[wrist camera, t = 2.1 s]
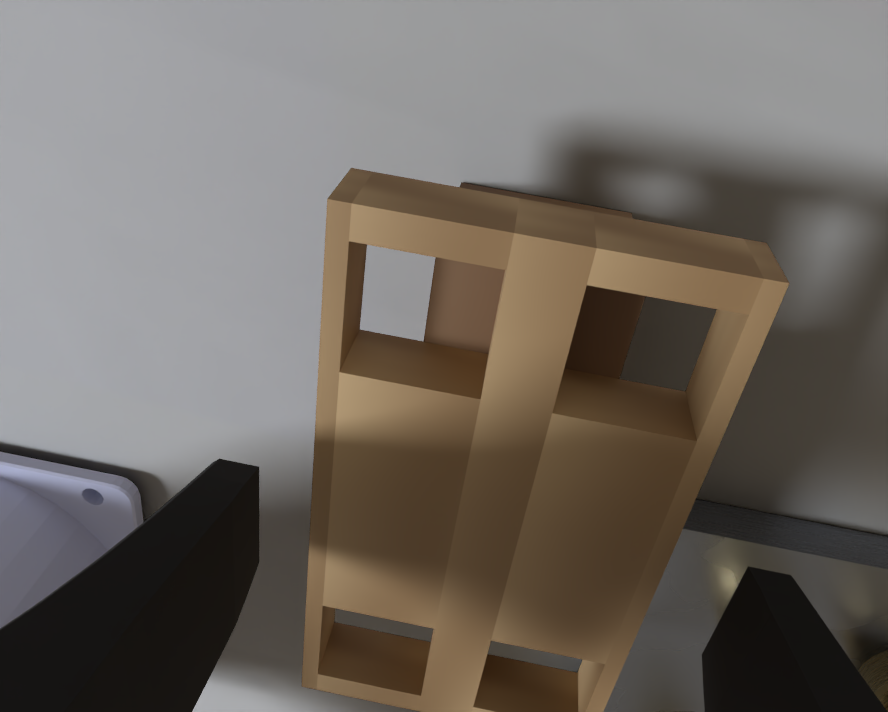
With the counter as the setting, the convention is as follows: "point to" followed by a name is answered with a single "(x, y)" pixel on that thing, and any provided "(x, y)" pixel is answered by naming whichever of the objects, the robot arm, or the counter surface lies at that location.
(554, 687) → the wooden frame
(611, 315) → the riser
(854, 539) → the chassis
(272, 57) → the counter surface
